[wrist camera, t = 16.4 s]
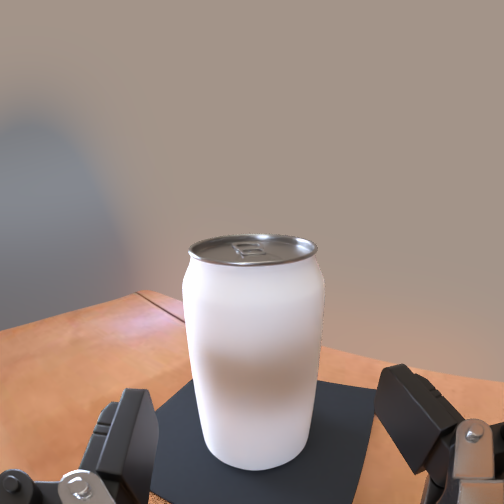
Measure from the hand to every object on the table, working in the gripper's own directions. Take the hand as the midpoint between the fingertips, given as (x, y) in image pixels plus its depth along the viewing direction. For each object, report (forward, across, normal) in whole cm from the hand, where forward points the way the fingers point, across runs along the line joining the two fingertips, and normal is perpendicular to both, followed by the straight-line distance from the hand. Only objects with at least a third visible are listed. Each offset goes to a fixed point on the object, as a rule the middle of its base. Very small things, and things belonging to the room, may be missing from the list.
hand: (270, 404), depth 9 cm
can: (+5, 0, +8) cm, 10 cm away
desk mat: (+6, 0, +8) cm, 10 cm away
